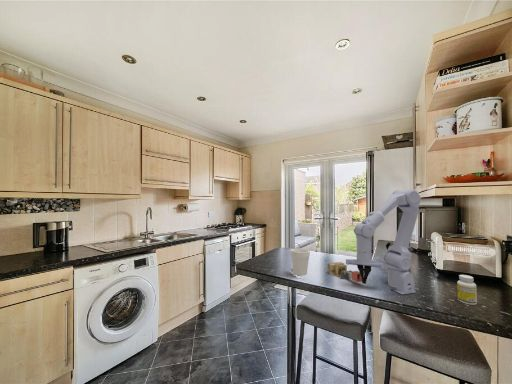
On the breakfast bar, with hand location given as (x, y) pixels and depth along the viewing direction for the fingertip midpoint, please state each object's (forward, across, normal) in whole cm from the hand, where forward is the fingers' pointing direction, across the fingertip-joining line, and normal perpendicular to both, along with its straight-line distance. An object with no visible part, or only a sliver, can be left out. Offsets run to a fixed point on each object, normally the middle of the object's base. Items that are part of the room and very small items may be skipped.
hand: (364, 282), depth 94 cm
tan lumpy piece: (+2, +10, -12) cm, 15 cm away
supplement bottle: (+3, -36, -4) cm, 37 cm away
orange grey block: (0, +5, -6) cm, 8 cm away
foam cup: (+3, +29, -7) cm, 30 cm away
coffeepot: (+3, -20, -32) cm, 37 cm away
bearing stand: (+3, +10, -12) cm, 16 cm away
